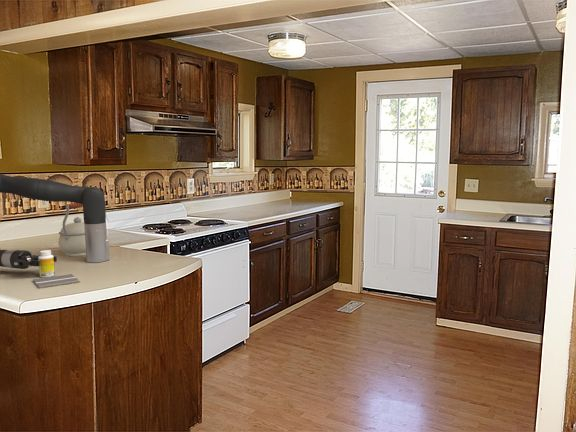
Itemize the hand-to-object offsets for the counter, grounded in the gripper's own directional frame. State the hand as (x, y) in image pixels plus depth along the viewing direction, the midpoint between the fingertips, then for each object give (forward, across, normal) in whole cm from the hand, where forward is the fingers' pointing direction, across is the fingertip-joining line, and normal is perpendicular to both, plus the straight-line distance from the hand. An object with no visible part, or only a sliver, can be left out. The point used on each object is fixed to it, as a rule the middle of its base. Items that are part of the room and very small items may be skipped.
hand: (47, 261), depth 203 cm
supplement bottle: (-1, 0, +6) cm, 6 cm away
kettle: (-23, +43, +6) cm, 49 cm away
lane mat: (+10, -6, +6) cm, 13 cm away
